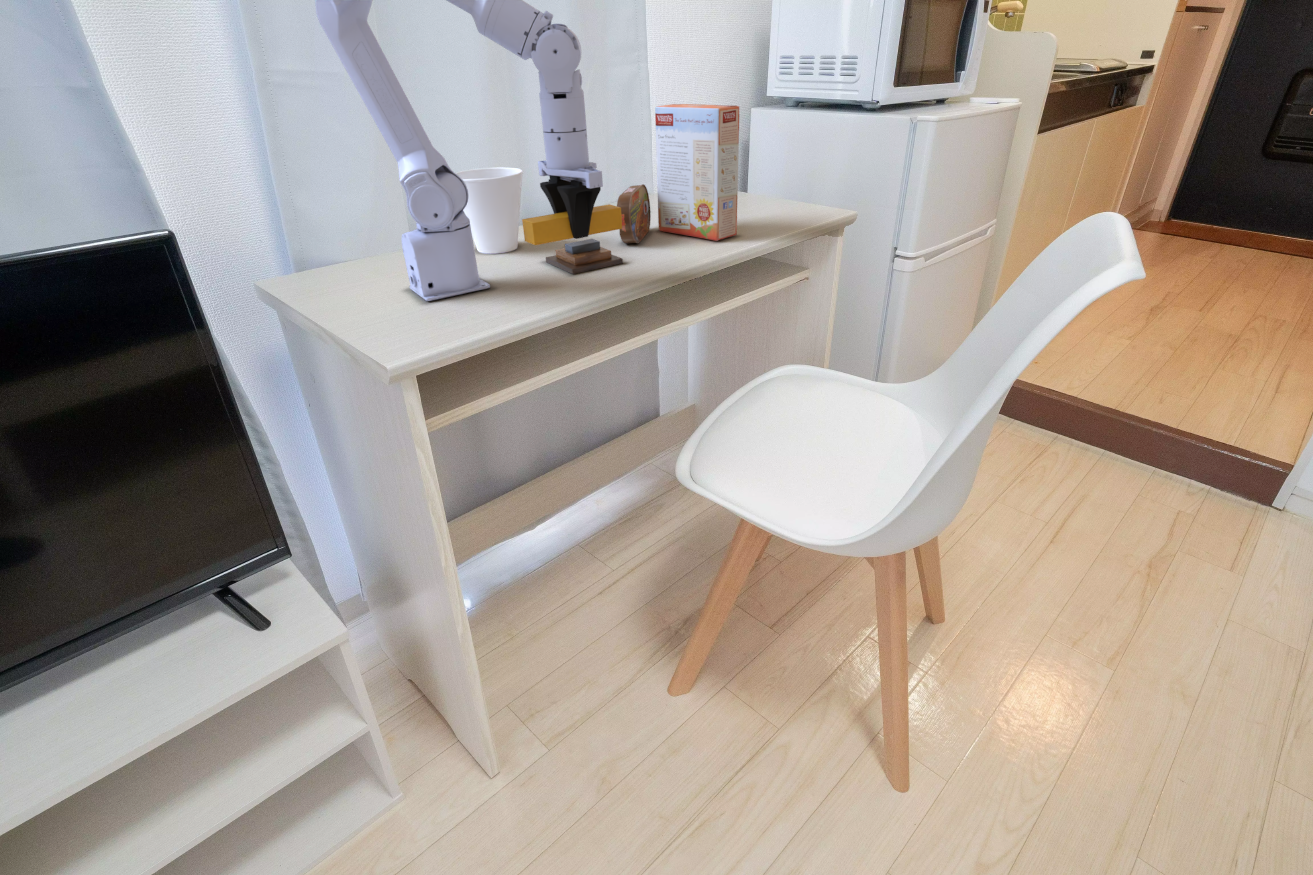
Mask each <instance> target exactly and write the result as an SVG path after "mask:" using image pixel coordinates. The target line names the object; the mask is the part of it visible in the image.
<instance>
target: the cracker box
mask: <svg viewBox="0 0 1313 875" xmlns="http://www.w3.org/2000/svg"><path fill="white" fill-rule="evenodd" d="M654 108H655V109H654V112H655V113H654V115H655V120H654V122H655V143H656V144H655V147H656V149H655V150H656V178H657V179H656V183H657V185H656V187H657V222H658V231H660V232H664V233H672V234H677V235H682V236H689V237H693V238H699V239H704V240H709V241H714V242H717V241H721V240H724V239H728V238H732V237H734V236H737V233H738V232H737V230H738V193H739V191H738V190H739V154H740V153H739V146H740V105H736V104H735V105H727V104H726V105H725V104H724V105H723V104H722V105H721V104H701V103H698V104H697V103H671V104H664V105H657V106H655V107H654Z"/></svg>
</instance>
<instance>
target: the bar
mask: <svg viewBox="0 0 1313 875" xmlns="http://www.w3.org/2000/svg"><path fill="white" fill-rule="evenodd" d="M521 221H522V229H523V236H524V242H525V243H528V244H529V245H533V246H539V245H544V244H550V243H556V242H560V241H566V240H571V239H574V238H573V235H572V232H571V228H570V223H569V218H568V213H567V212H562V213H556V214H554V213H550V214H545V215H539V216H533V217H528V218H527V217H526V218H522V219H521ZM619 229H622V217H621V207H617V205H613V204H609V203H608V204H603V205H597V206H594V207H593V211H592V216H591V222H590V229H589V235H588V236H592V235H596V234H602V233H607V232H613V231H618V230H619Z"/></svg>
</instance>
